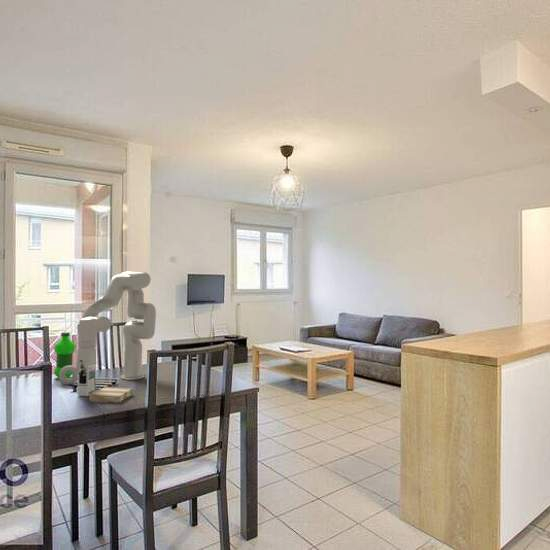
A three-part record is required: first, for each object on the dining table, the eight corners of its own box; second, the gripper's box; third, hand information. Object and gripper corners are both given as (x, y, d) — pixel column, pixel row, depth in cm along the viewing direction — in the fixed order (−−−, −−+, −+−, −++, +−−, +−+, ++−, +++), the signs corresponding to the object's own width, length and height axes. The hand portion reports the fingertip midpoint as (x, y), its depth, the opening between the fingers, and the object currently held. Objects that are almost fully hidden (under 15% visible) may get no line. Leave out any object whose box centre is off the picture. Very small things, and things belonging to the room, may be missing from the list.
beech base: (104, 393, 204) (105, 387, 204) (132, 394, 202) (132, 388, 202) (89, 401, 190) (89, 394, 190) (118, 403, 188) (119, 396, 188)
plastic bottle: (68, 374, 239) (70, 331, 240) (77, 377, 233) (78, 332, 233) (50, 377, 232) (51, 332, 232) (59, 380, 225) (60, 334, 225)
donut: (80, 383, 220) (80, 364, 221) (77, 385, 217) (78, 365, 217) (59, 383, 219) (60, 364, 219) (57, 385, 216) (58, 366, 216)
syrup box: (88, 396, 196) (88, 365, 196) (76, 395, 198) (77, 364, 198) (95, 393, 202) (96, 363, 202) (84, 392, 203) (85, 362, 203)
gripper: (89, 341, 209) (88, 377, 209) (69, 347, 192) (68, 386, 192) (104, 341, 208) (103, 377, 208) (84, 347, 191) (84, 387, 191)
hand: (86, 381), depth 200 cm, fingers closed on syrup box, 6 cm apart
